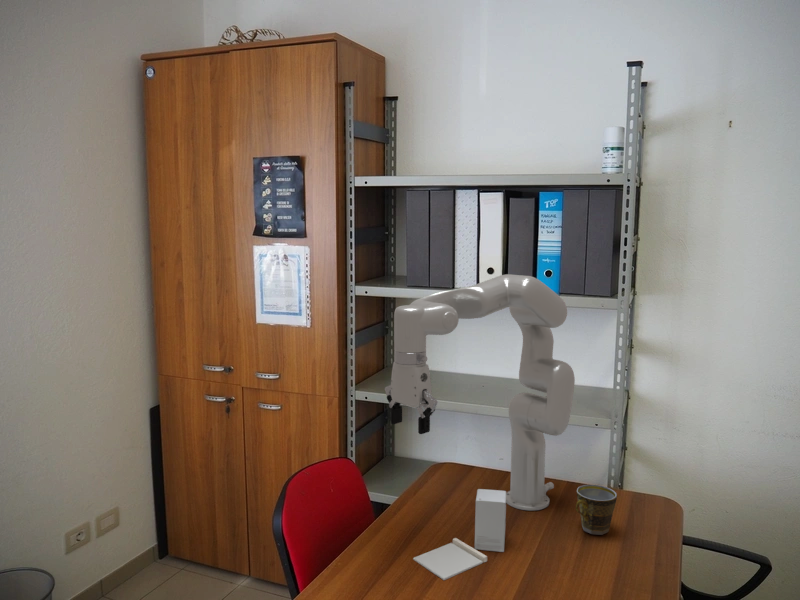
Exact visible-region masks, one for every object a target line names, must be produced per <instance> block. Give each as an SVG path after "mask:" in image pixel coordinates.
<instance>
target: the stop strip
mask: <svg viewBox="0 0 800 600" xmlns="http://www.w3.org/2000/svg"><path fill="white" fill-rule="evenodd" d="M452 544H454V545H456V546H457V547H459V548H461V549H462V550H464V551H466V552H467V553H469V554H471V555H472V556H474V557H476V558H477V559H479V560H481V561H482V562H483V563H486V562H488V556H487V555H485V554H484V553H482V552H481V551H478V549H475V547H472V546H470V545H468V544H467V543H466V542H463V541H462V540H460V539H458V538H457V537H454V538H452Z"/></svg>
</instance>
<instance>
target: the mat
mask: <svg viewBox="0 0 800 600" xmlns="http://www.w3.org/2000/svg"><path fill="white" fill-rule="evenodd" d="M412 560H413V561H415V562H416V563H418V564H419V565H421V566H422V567H424V568H425V569H426V570H428V571H429V572H431V573H433V574H434V575H435V576H437V577H439V578H440V579H441V580H443V581H446V580H448V579H450V578H452V577H455V576H457V575H460V574H461V573H464V572H466V571H468V570H470V569H473V568H475V567H477V566H479V565H482V564H483V563H484V562H482V561H481V560H479V559H477V558H476V557H474V556H472V555H471V554H469V553H467V552H466V551H464V550H462V549H461V548H459V547H457V546H456V545H454V544H453V542H450V543H447V544H445V545H442V546H440V547H438V548H435V549H432V550H430V551H428V552H425V553H422V554H420V555H417V556H414V557H413V558H412Z"/></svg>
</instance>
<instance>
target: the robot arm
mask: <svg viewBox="0 0 800 600" xmlns="http://www.w3.org/2000/svg"><path fill="white" fill-rule="evenodd" d="M506 308H509V313H510V315H511V317H512V318H513V319H514V321H515V322H516V323H517V325H518V327H519V329H520V331H521V333H522V349H521V354H520V364H519V371H518V380H519V383H520V384H521V385H522V386H524V387H525V388H527V389H530V390H534V391H537V392H541V393H545V394H546V397H545V396H543V395H538V394H535V393H529V392H520V393H517V394H515V395H514V396H513V397H512V398H511V399H510V401H509V404H508V417H509V423H510V424H509V425H510V431H511V433H510V434H511V447H510V448H511V450H510V484H509V485H510V487H509V489H510V490H508V491H506V505H508V506H510V507H512V508H515V509H517V510H521V511H530V512H531V511H541V510H544V509H546V508H548V507H549V505H550V498H549V496H548V495H547V492H548V491H550V490H552V489H554V488H555V484H554V483H553V482H552V481H549V482H547V483H545V478H546V477H545V475H546V469H545V467H546V439H545V435H549V436H555V437H557V436H561V435H562V434H564V432H566V430H567V429H568V426H569V423H570V420H571V419H570V418H571V412H572V406H573V399H574V391H575V383H576V382H575V381H576V380H575V379H576V378H575V374H574V369H573V367H571V365H570V364H569V363H567V362H565V361H562V360H559V359H554V358H553V353H554V352H553V351H554V343H555V341H554V336H553V332H552V330H551V329H554V328H555V329H556V328H559V327H561V326H562V325H563V324H564V323H565V321H566V320H567V316H568V307H567V305H566V302H565V301H564V299H563V298H562V297H561V296H559V294H558V293H557V292H555V291H554V290H553V289H551V288H550V287H549V286H548V285H546V284H545V283H544V282H542V281H541V280H540V279H538V278H537V277H534V276H531V275H521V274H519V275H518V274H510V273H509V274H508V273H506V274H501V275H499V276H495V277H493V278H489V279H487V280H484V281H482V282H479V283H476V284H474V285H470V286H466V287H465V286H464V287H460V288H455V289H451V290H445V291H444V290H443V291H440V292H439V291H438V292H436V293H432V294H428V295H425V296H423V297H420V298H417V299H415V300H413V301H412V302H411V303H410V304H406V305H400V306H397V307H396V308H395V310H394V314H393V322H394V324H393V327H394V328H393V330H394V331H393V334H394V335H393V342H394V347H393V348H394V351H393V352H394V355H393V357H394V358H393V364H392V368H391V369H392V370H391V378H390V384H389V385H386V386H385V387H384V391H385V394H386V400H387V401H388V407H389V408H390V424H391V425H396V424H401V423H402V422H403V406H402V405H404V406H407V407H410V408H414V409H416V410H417V412H418V415H419V417H418V419H417V421H418V422H417V424H418V428H417V430H418V431H417V433H418V435H424V434H428V433H429V432H430V431H431V416H433V414H434V413H435V410H436V408H437V405H438V400H437V398H435V397H434V396H433V395H432V393H433V392H432V377H431V373H430V371H431V370H430V368H429V364H427V362H428V357H427V336H428V335H433V336H434V335H435V336H444V335H445V336H446V335H448V334H451V333H452V332H453V331H454V330H456V328H457V327H458V324H459V319H460V320H471V319H481V318H484V317H487V316H489V315H491V314H493V313H496V312H498V311H502V310H504V309H506ZM544 434H545V435H544Z"/></svg>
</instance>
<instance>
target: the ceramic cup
mask: <svg viewBox="0 0 800 600" xmlns="http://www.w3.org/2000/svg"><path fill="white" fill-rule="evenodd" d="M576 496H577V497H576V498H577V502H576V503H575V510H576V512H577V513H578V514H580V521H581V526H582V529H583V532H585V533H589V534H590V535H599V536H603V535H604V534H607V533H609V531H610V527H611V523H612V520H613V514H614V511H615V508H616V503H617V497H618V495H617V492H616V491H615V490H613V489H611V488H609V487H607V486H604V485H599V484H583V485H580V486H578V487H577V489H576Z"/></svg>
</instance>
